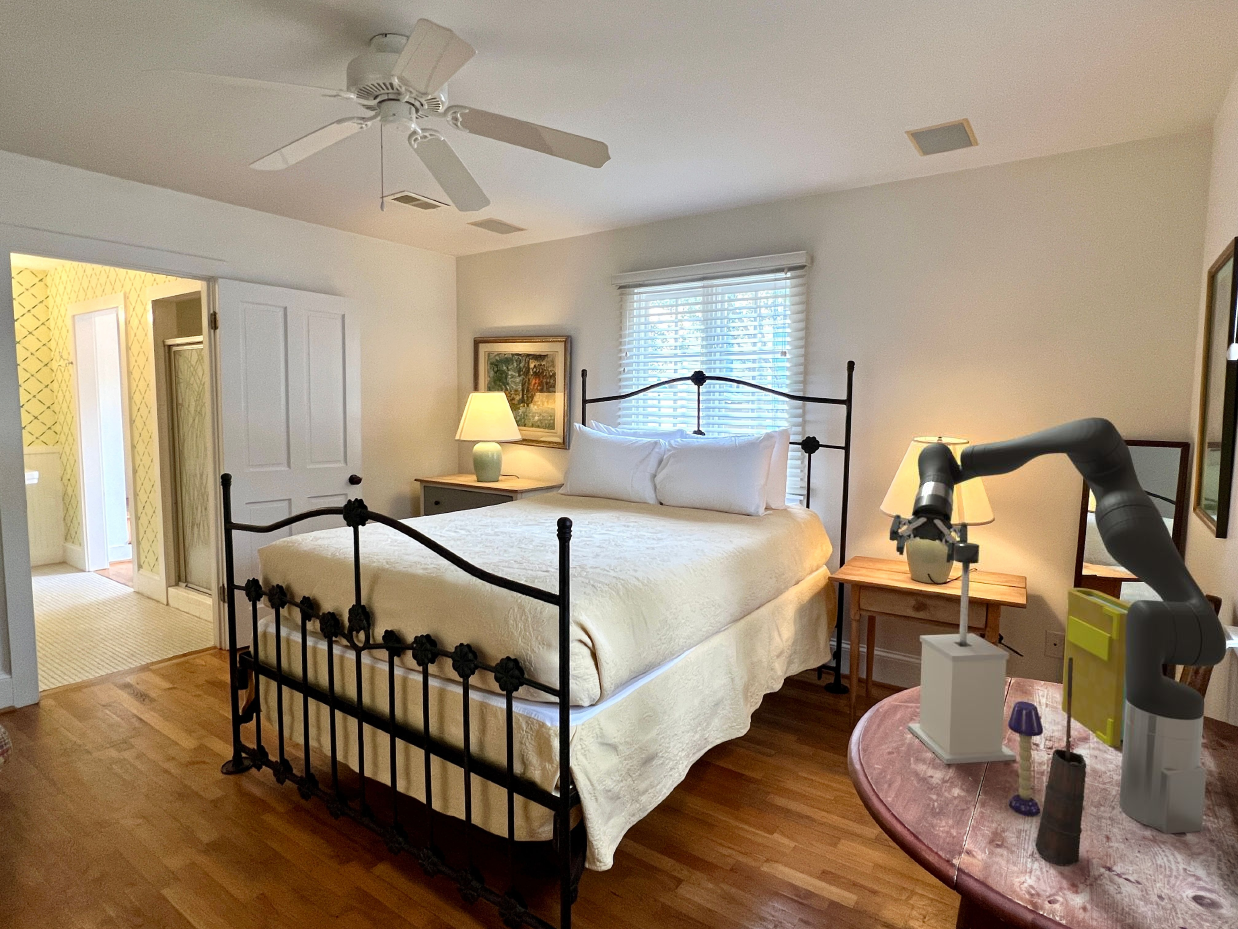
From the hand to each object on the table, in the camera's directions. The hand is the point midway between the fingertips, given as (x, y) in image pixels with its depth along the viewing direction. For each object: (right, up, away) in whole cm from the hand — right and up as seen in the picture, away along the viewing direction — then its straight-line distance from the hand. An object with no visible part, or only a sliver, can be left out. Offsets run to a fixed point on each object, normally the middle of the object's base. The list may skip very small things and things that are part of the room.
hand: (924, 555), depth 134 cm
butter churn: (+1, -37, -39) cm, 54 cm away
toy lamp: (+3, -36, -27) cm, 45 cm away
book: (+34, -33, 0) cm, 47 cm away
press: (+3, -34, -7) cm, 35 cm away
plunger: (+3, -22, -8) cm, 24 cm away
